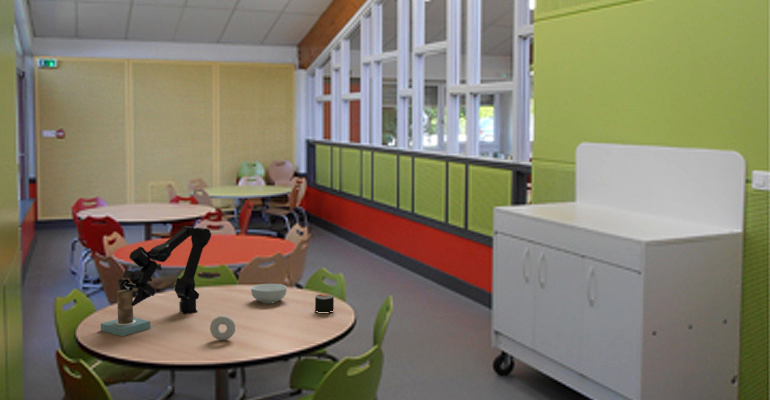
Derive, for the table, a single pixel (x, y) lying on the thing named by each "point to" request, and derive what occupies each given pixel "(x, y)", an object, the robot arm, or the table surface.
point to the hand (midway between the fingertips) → (125, 303)
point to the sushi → (324, 302)
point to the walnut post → (125, 306)
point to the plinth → (125, 327)
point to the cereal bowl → (268, 292)
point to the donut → (226, 321)
